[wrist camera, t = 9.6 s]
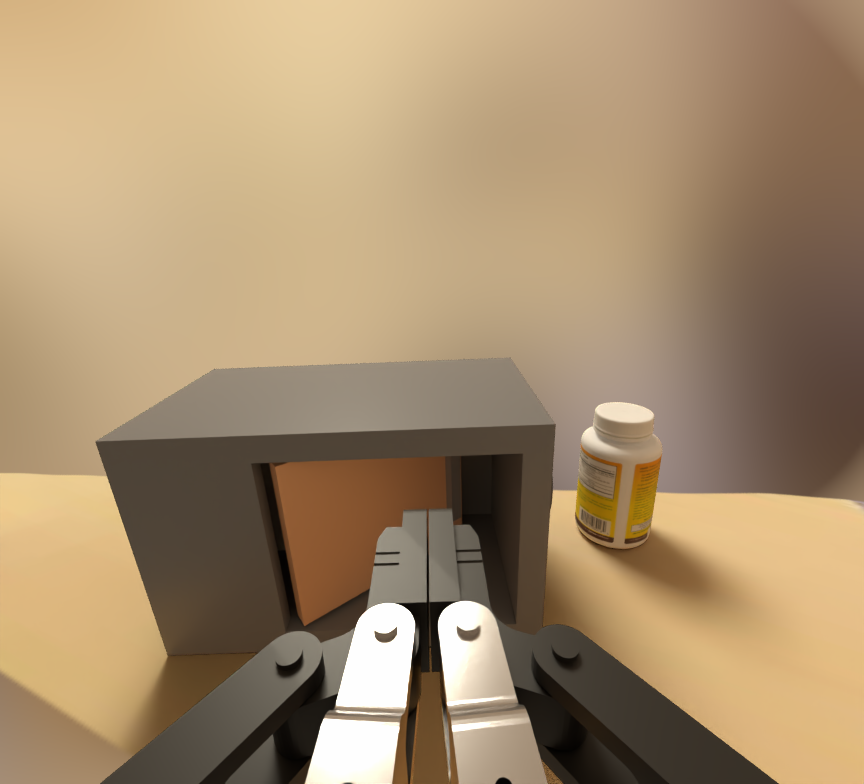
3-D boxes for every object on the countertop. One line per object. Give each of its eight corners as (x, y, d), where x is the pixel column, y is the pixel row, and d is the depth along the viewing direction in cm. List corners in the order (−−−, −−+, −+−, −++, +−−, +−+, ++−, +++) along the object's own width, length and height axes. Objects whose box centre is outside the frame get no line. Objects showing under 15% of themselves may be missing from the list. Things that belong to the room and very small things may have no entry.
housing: (167, 655, 25) (95, 441, 20) (248, 526, 36) (213, 369, 32) (558, 642, 25) (576, 423, 20) (518, 516, 36) (524, 357, 32)
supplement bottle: (642, 513, 36) (660, 400, 33) (654, 558, 31) (676, 430, 28) (573, 504, 38) (582, 395, 34) (574, 545, 33) (585, 423, 29)
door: (308, 632, 24) (279, 471, 21) (297, 614, 25) (268, 459, 22) (467, 539, 31) (466, 406, 28) (453, 528, 32) (450, 400, 29)
